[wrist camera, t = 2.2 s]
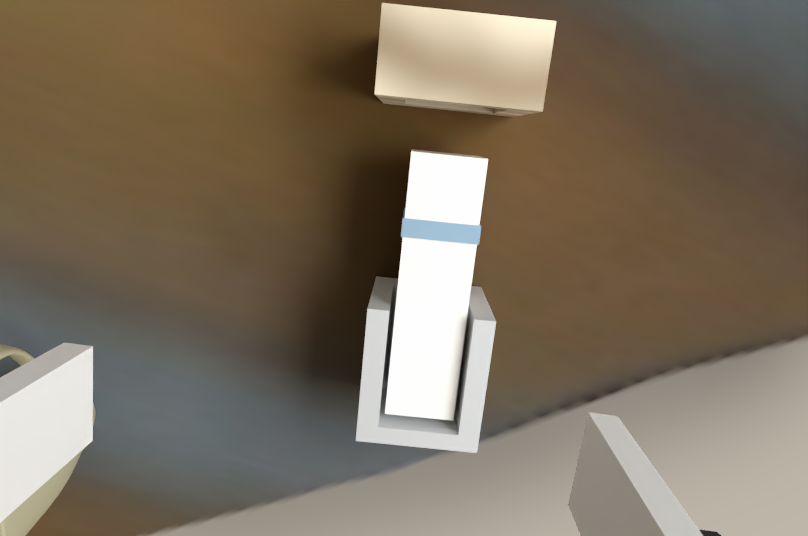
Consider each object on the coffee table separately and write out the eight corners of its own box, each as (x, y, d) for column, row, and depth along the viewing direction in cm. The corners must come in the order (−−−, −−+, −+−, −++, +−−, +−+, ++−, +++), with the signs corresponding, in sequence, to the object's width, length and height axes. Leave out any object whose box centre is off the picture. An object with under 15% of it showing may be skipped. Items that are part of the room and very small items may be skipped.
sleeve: (375, 276, 37) (367, 308, 30) (480, 286, 37) (496, 321, 30) (365, 386, 39) (355, 440, 32) (465, 396, 39) (476, 452, 32)
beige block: (389, 34, 33) (382, 2, 25) (522, 48, 33) (556, 20, 25) (383, 103, 34) (374, 94, 26) (512, 116, 34) (542, 111, 26)
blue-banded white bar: (409, 148, 33) (409, 151, 29) (480, 156, 33) (490, 159, 29) (386, 382, 36) (382, 414, 32) (450, 389, 36) (455, 421, 32)
